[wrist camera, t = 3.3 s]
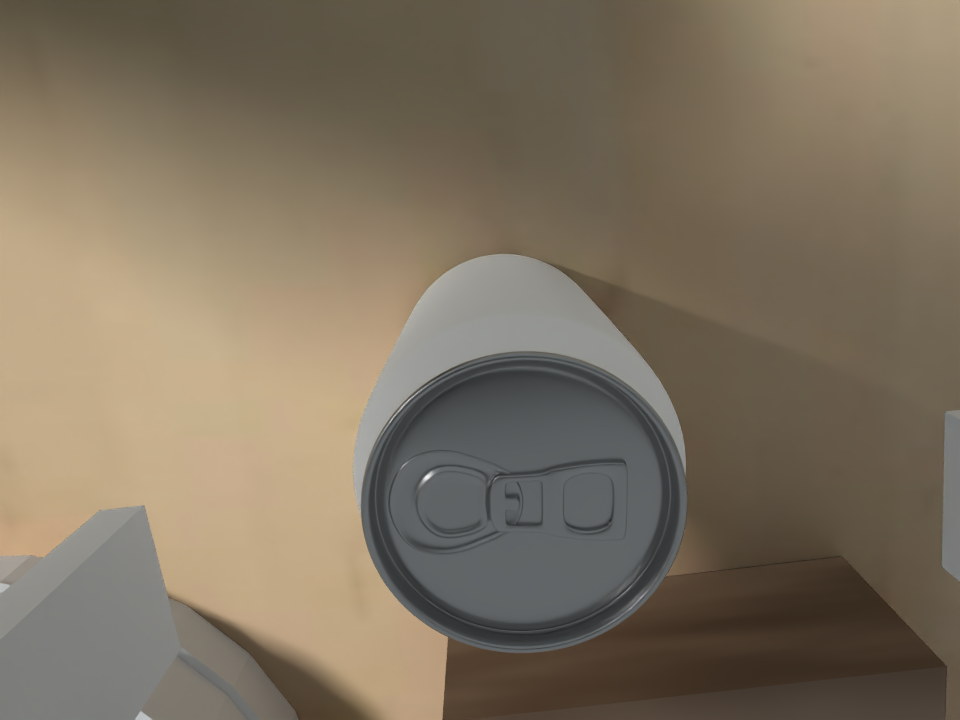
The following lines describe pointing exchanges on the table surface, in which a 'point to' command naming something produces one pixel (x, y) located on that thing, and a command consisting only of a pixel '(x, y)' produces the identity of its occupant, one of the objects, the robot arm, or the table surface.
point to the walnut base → (720, 657)
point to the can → (518, 463)
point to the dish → (196, 670)
